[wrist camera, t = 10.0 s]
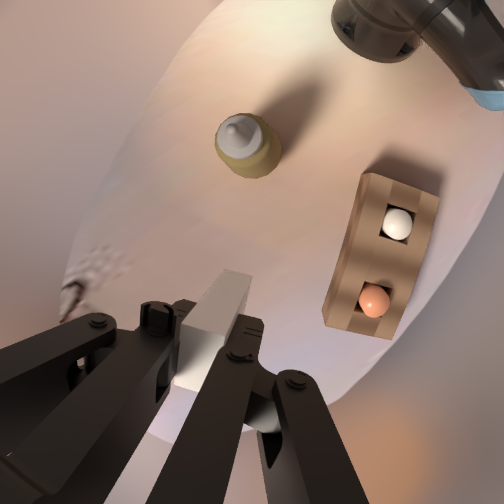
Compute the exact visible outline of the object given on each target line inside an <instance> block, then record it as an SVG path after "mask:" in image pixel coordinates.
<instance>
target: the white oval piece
mask: <svg viewBox="0 0 504 504" xmlns="http://www.w3.org/2000/svg"><path fill="white" fill-rule="evenodd" d="M411 230H412V219H411V217H410V215H409V214H408V213H407V212H406V211H404V210H400V209H395V208H391V207H387V208H386V212H385V215H384V219H383V223H382V226H381V230H380V232H382V233H384V234H386V235H388V236H390V237H392V238H393V239H396V240H401V239H404V238H406V237H407V236H408V235H409V234H410V232H411Z"/></svg>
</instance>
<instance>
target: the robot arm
mask: <svg viewBox="0 0 504 504" xmlns="http://www.w3.org/2000/svg"><path fill="white" fill-rule="evenodd" d="M331 22H332V26H333V29H334V31H335V33H336V35H337V36H338V38H339V39H340V40H341V41H342V42H343V43H344V44H345V45H346V46H347V47H348V48H349V49H351V50H352V51H353V52H355V53H357V54H358V55H360V56H362V57H364V58H367V59H369V60H372V61H376V62H381V63H396V62H400V61H403V60H405V59H406V58H408V57H409V56H410V55H411V54H412V53H413V52H414V50H415V49H416V47H417V45H418V43H419V37H421V38H422V39H423V40H424V41H425V42H426V43H427V44H428V45H429V46H430V47H431V48H432V50H433V51H434V52H435V53H436V54H437V55H438V56H439V57H440V58H441V59H442V60H443V62H444V63H445V64H446V65H447V66H448V67H449V68H450V70H451V71H452V72H453V73H454V74H455V76H456V77H457V78H458V79H459V82H460V84H461V85H462V87H464V88H465V89H466V90H467V91H468V92H469V93H470V94H471V96H472V97H473V98H474V100H475V101H476V102H477V103H478V104H479V105H480V106H481V107H484V108H485V109H487V110H491V111H502V110H504V0H336V2H335V4H334V6H333V10H332V14H331ZM251 280H252V276H250V275H246V274H242V273H238V272H234V271H231V270H227V269H224V271H223V272H222V273H221V274H220V276H219V277H218V278H217V279H216V281H215V282H214V283H213V284H212V286H211V287H210V288H209V289H208V290H207V292H206V293H205V294H204V295H203V297H202V298H201V299H200V300H199V302H198V303H196V302H192V301H189V300H185V299H183V300H180V301H177V302H175V303H174V304H173V305H170V304H167V303H164V302H159V301H150V302H145V303H143V304H141V312H140V326H139V327H138V328H137V329H135V330H134V331H129V330H123V329H117V323H116V320H115V319H114V318H113V317H112V316H110V315H107V314H104V313H90V314H86V315H84V316H81V317H79V318H77V319H74V320H72V321H69V322H67V323H64V324H62V325H59V326H57V327H54V328H52V329H49V330H47V331H44V332H42V333H40V334H37V335H35V336H32V337H30V338H27V339H25V340H22V341H20V342H17V343H15V344H12V345H10V346H8V347H5V348H3V349H0V504H103V503H104V502H105V500H106V498H107V497H108V495H109V493H110V492H111V490H112V488H113V486H114V485H115V483H116V481H117V480H118V478H119V476H120V475H121V473H122V471H123V470H124V468H125V466H126V465H127V463H128V461H129V460H130V458H131V456H132V455H133V453H134V451H135V449H136V448H137V446H138V444H139V443H140V441H141V439H142V438H143V436H144V434H145V433H146V431H147V429H148V428H149V426H150V424H151V423H152V421H153V419H154V417H155V416H156V414H157V412H158V411H159V409H160V407H161V406H162V404H163V402H164V401H165V399H166V397H167V396H168V394H169V391H170V385H171V380H172V379H173V377H174V376H175V382H174V384H175V385H178V386H181V387H184V388H187V389H190V390H193V391H196V392H199V393H198V395H197V397H196V399H195V401H194V403H193V405H192V408H191V410H190V412H189V414H188V416H187V418H186V420H185V422H184V424H183V427H182V429H181V431H180V433H179V435H178V437H177V439H176V441H175V443H174V445H173V447H172V450H171V452H170V454H169V456H168V458H167V460H166V462H165V464H164V466H163V468H162V470H161V473H160V475H159V477H158V479H157V481H156V483H155V485H154V487H153V489H152V491H151V493H150V495H149V497H148V499H147V501H146V503H145V504H223V502H224V497H225V494H226V490H227V486H228V482H229V479H230V475H231V471H232V467H233V463H234V459H235V455H236V451H237V447H238V443H239V439H240V435H241V431H242V427H243V423H244V424H246V425H248V426H250V427H252V428H254V429H257V440H258V446H259V452H260V458H261V464H262V470H263V476H264V482H265V487H266V493H267V499H268V504H369V502H368V500H367V497H366V495H365V493H364V490H363V488H362V486H361V483H360V481H359V479H358V476H357V474H356V472H355V470H354V467H353V465H352V463H351V461H350V458H349V456H348V453H347V451H346V449H345V447H344V445H343V442H342V440H341V438H340V435H339V433H338V431H337V428H336V426H335V424H334V422H333V419H332V417H331V415H330V413H329V410H328V408H327V406H326V403H325V401H324V399H323V397H322V394H321V392H320V390H319V388H318V385H317V383H316V382H315V380H314V379H313V378H312V377H311V376H309V375H308V374H306V373H304V372H302V371H298V370H284V371H281V372H279V373H278V375H275V374H273V373H271V372H269V371H267V370H266V369H265V368H263V367H262V366H261V364H260V363H259V361H258V353H259V349H260V344H261V340H262V335H263V330H264V324H263V322H262V320H261V319H259V318H255V317H251V316H247V315H244V310H245V306H246V302H247V297H248V293H249V289H250V284H251ZM82 357H83V358H84V365H82V366H78V365H77V360H79V359H80V358H82ZM10 453H11V454H10ZM8 454H10V455H8ZM7 455H8V456H7Z"/></svg>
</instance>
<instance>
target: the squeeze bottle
mask: <svg viewBox="0 0 504 504" xmlns="http://www.w3.org/2000/svg"><path fill="white" fill-rule="evenodd" d="M215 148H216V151H217V153H218V156H219V157H220V158H221V159H222V160H223V161H224V162H225V164H226V165H227V166H228V167H229V168H230V169H231V170H232V171H233V172H234V173H236V174H238V175H240V176H242V177H244V178H255V179H257V178H260V177H263V176H266V175H268V174H269V173H270V172H271V171H273V170H274V169H275V168H276V167H277V165H278V163H279V161H280V159H281V156H282V144H281V142H280V139H279V136H278V135H277V134H276V132H275V131H274V130H273V129H272V128H271V127H270V126H269V125H268V124H267V123H266V122H265V121H264V120H263V119H262V118H260V117H258V116H255V115H253V114H250V113H239V114H236V115H234V116H231V117H229V118H227V119H226V120H225V121H224V122H223V123H222V124H221V125H220V127H219V129H218V131H217V133H216V135H215Z"/></svg>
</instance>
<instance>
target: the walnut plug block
mask: <svg viewBox="0 0 504 504" xmlns="http://www.w3.org/2000/svg"><path fill="white" fill-rule="evenodd" d="M439 201H440V198H439V197H437V196H434V195H432V194H429V193H427V192H424V191H422V190H419V189H417V188H414V187H411V186H409V185H406V184H403V183H401V182H398V181H395V180H392V179H390V178H387V177H384V176H381V175H378V174H375V173H372V172H371V173H366V174H361V177H360V181H359V185H358V189H357V193H356V197H355V201H354V205H353V209H352V212H351V216H350V220H349V224H348V227H347V231H346V234H345V238H344V241H343V245H342V248H341V251H340V255H339V258H338V261H337V264H336V268H335V271H334V274H333V277H332V280H331V283H330V286H329V289H328V292H327V295H326V298H325V301H324V304H323V307H322V313H323V318H324V322H325V326H327V327H331V328H336V329H340V330H345V331H349V332H354V333H358V334H363V335H368V336H373V337H378V338H383V339H388V340H392V338H393V336H394V334H395V332H396V329H397V327H398V325H399V322H400V320H401V318H402V315H403V313H404V310H405V308H406V305H407V303H408V300H409V298H410V295H411V293H412V290H413V287H414V285H415V282H416V279H417V276H418V273H419V270H420V267H421V264H422V261H423V258H424V255H425V252H426V249H427V246H428V242H429V239H430V235H431V232H432V228H433V225H434V221H435V217H436V213H437V209H438V205H439ZM387 205H390V206H393V207H396V208H398V209H401V210H404V211H406V212H407V213H408V214H409V215H410V217H411V219H412V230H411V232H410V234H409V235H408V236H407V237H406V238H404V239H401V240H396V239H393V238H392V237H389V236H386V235H383V234H380V230H381V226H382V223H383V219H384V215H385V212H386V208H387ZM364 281H366V282H370V283H374V284H378V285H380V286H381V288H382V289H383V290H384V291H385V292H386V294H387V295H388V296H389V299H390V305H389V308H388V310H387V311H386V312H385V313H384V314H383V315H382V316H379V317H375V318H373V317H369V316H367V315H366V314H365V313H364V311H363V309H362V307H361V306H360V304H359V302H358V298H359V295H360V292H361V289H362V286H363V284H364Z"/></svg>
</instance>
